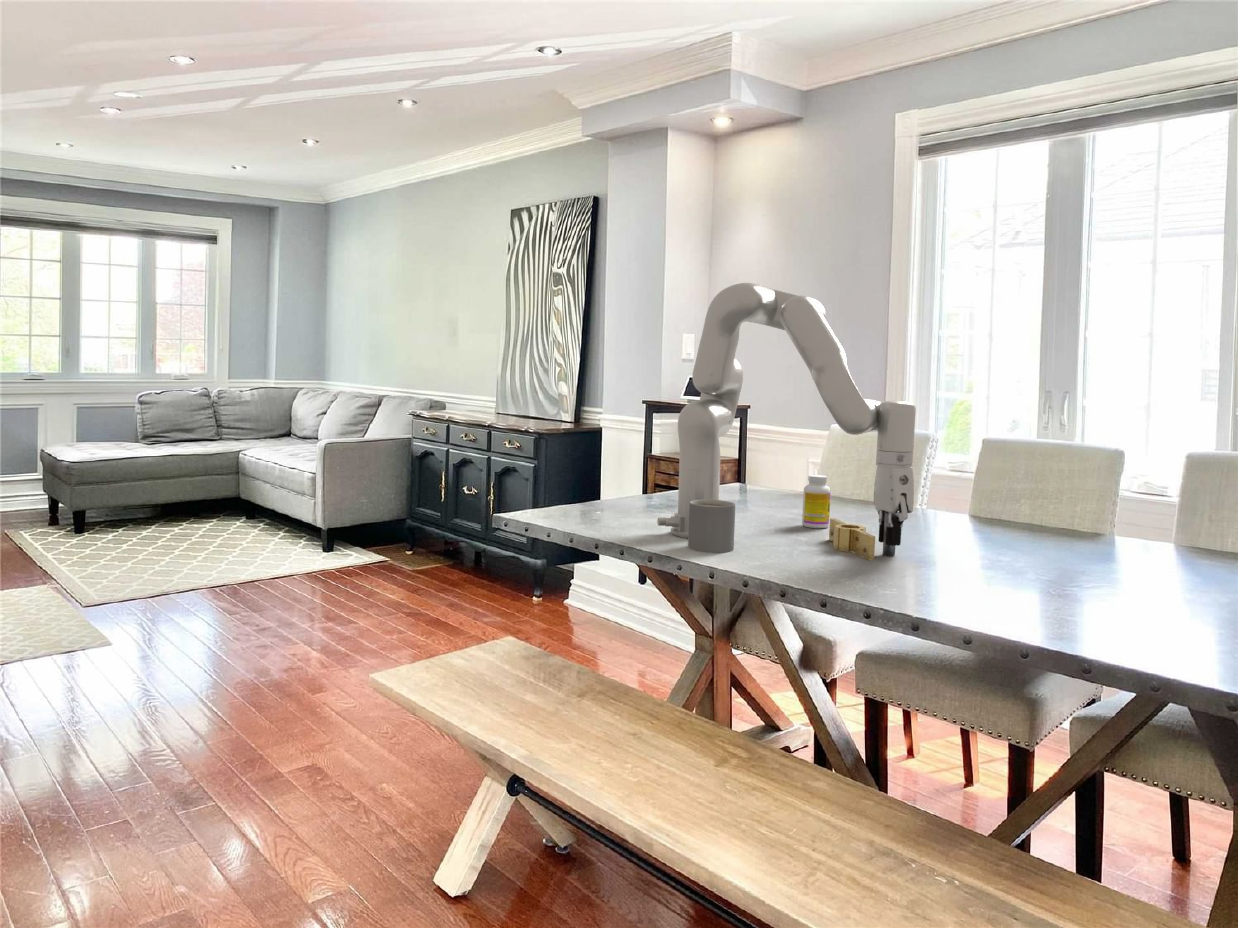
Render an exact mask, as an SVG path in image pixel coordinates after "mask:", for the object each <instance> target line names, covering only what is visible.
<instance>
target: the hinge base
mask: <svg viewBox="0 0 1238 928" xmlns="http://www.w3.org/2000/svg"><path fill="white" fill-rule="evenodd" d="M866 531H867V527H866V526H864V525H860V524H854V523H853V524H852V523H846V524H838V525H835V527H834V542H833V549H835V550H836V549H837V551H840V552H841V551H842V552H848V553H854V554H856V555H858V556H860V557H861V558H864V559H866V560H868V561H874V560H875V550H876V549H875V548H876V547H875V546H876V536H875V535H874V534H872V533H871V534H870V533H869V532H866Z"/></svg>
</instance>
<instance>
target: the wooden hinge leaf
mask: <svg viewBox="0 0 1238 928" xmlns="http://www.w3.org/2000/svg"><path fill="white" fill-rule="evenodd" d="M838 524H847V522H846V523H845V522H843V521H842V520H840V519H837V518H834V517H833V518H832V517H831V518H830V517H829V529H828V530H829V533H828V540H829V541H831V542H833V543H834V527H835V525H838Z"/></svg>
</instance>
